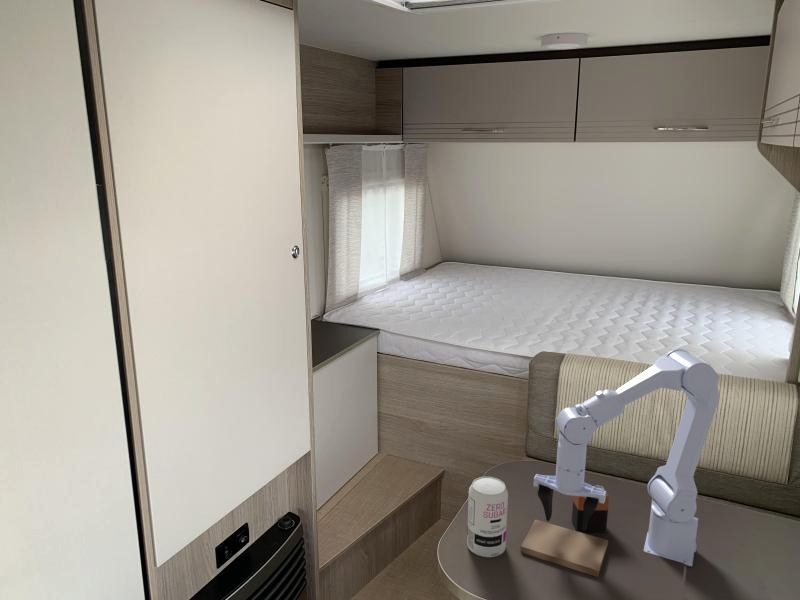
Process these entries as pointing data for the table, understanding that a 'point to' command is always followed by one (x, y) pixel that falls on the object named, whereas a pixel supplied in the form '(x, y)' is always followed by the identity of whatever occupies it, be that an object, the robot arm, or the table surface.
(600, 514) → the battery
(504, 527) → the supplement can
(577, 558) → the wooden flat block
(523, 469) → the table surface
